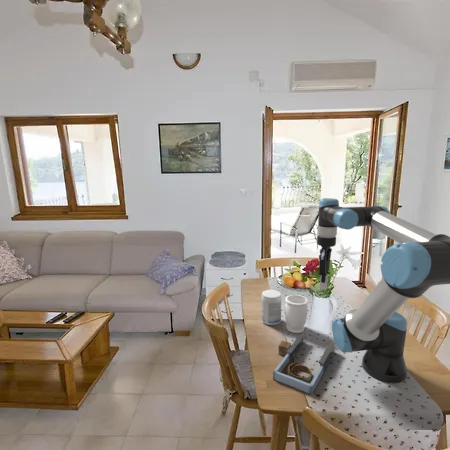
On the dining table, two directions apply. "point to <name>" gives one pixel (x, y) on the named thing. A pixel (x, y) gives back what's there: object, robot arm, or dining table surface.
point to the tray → (293, 381)
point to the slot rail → (325, 356)
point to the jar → (296, 313)
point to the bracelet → (304, 379)
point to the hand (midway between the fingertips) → (323, 288)
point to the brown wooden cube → (284, 347)
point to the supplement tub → (271, 307)
